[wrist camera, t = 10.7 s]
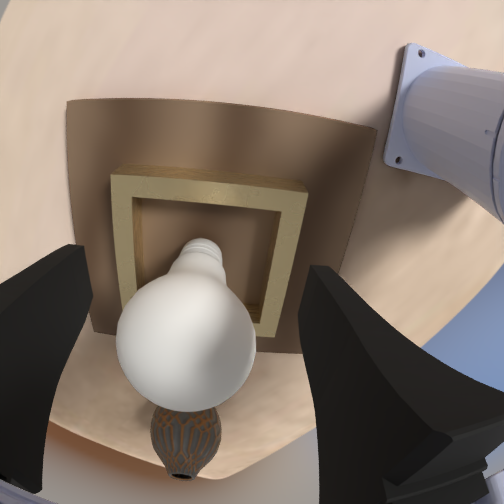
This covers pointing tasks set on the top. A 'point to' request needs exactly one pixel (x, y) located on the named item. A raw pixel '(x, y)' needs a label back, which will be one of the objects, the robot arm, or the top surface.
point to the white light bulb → (187, 334)
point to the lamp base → (214, 215)
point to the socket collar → (213, 192)
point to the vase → (185, 440)
